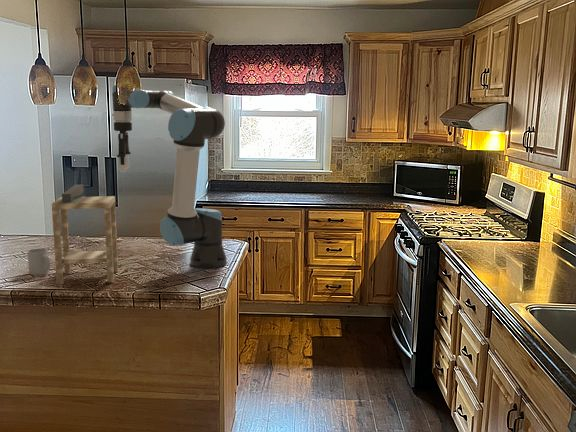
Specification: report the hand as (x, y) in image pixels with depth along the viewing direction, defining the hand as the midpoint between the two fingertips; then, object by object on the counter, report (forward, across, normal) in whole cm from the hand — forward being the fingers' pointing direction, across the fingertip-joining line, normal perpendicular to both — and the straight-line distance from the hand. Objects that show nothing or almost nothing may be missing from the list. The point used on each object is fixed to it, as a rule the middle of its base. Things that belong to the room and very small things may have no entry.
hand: (124, 170), depth 253 cm
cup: (+37, +30, -30) cm, 56 cm away
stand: (+37, +38, -11) cm, 54 cm away
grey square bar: (+6, +32, -16) cm, 36 cm away
